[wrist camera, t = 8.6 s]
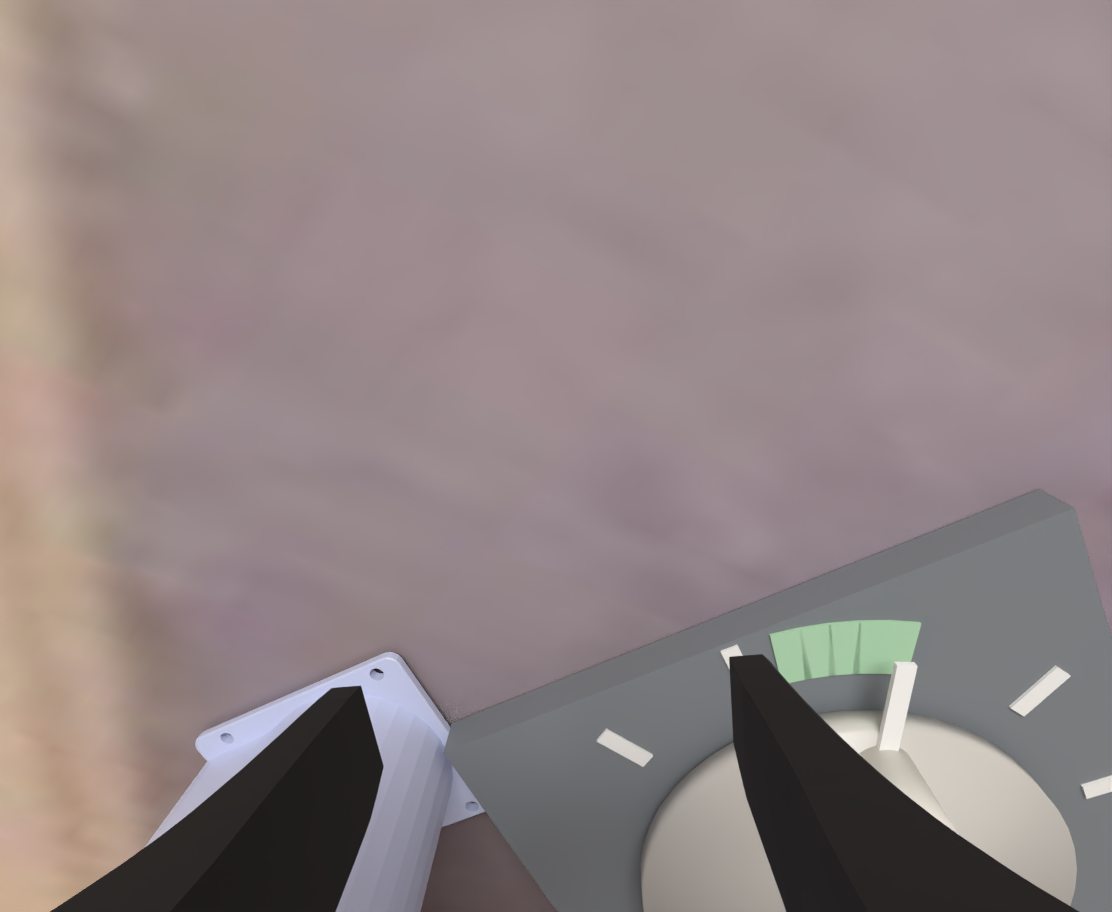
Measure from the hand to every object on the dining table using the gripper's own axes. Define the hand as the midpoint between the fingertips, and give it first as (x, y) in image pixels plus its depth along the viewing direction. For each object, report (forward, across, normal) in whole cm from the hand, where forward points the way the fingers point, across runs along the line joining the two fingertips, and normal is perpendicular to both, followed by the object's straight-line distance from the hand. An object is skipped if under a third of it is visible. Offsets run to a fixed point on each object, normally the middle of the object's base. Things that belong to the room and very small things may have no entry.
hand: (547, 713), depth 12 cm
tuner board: (+9, -9, +15) cm, 20 cm away
